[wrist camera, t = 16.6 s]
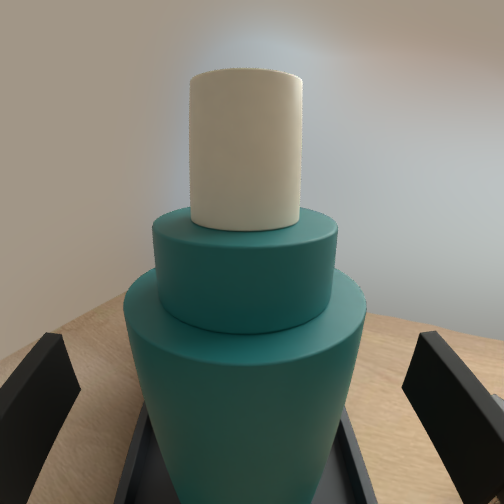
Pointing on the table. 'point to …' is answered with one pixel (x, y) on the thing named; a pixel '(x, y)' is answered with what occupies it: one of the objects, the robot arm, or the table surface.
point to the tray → (166, 500)
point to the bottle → (245, 306)
